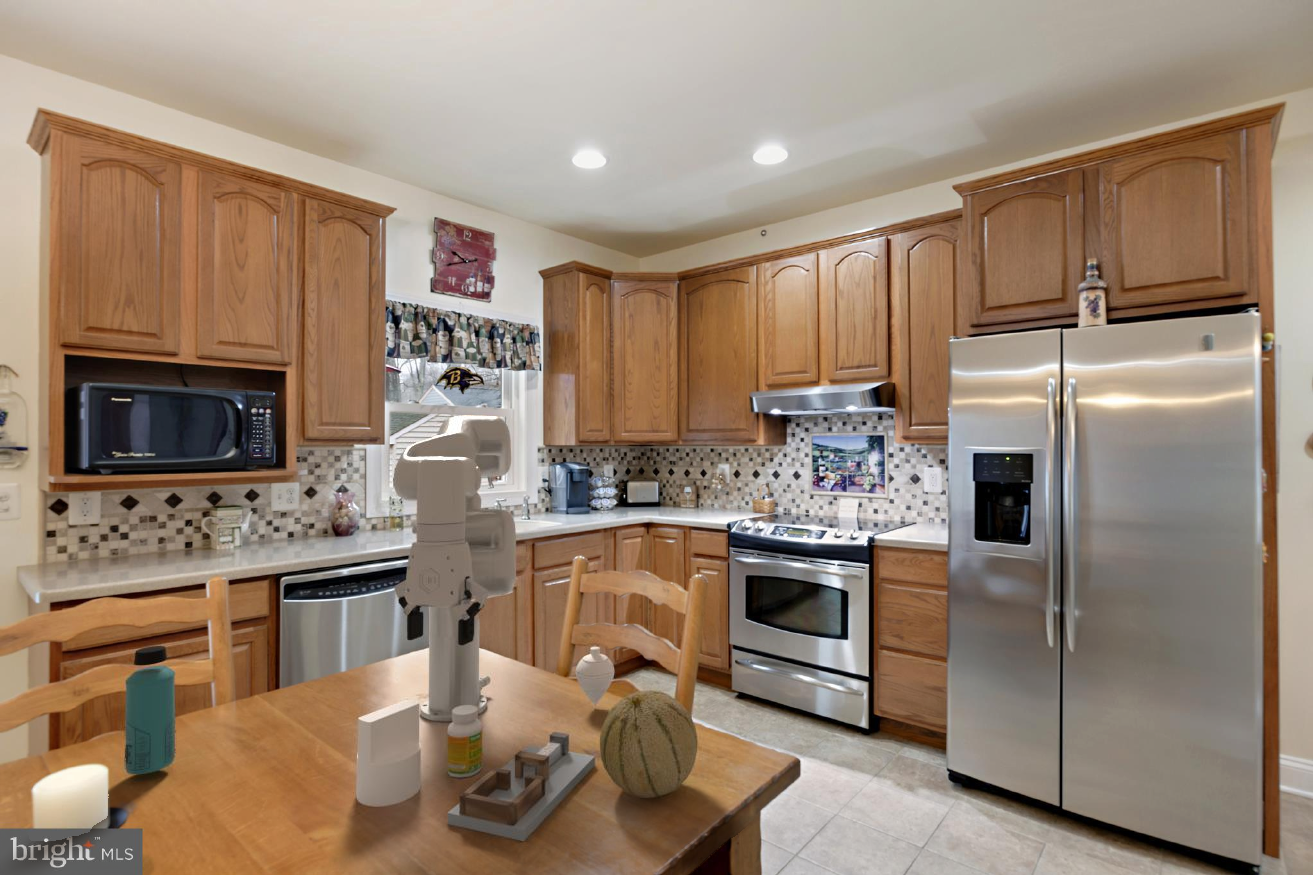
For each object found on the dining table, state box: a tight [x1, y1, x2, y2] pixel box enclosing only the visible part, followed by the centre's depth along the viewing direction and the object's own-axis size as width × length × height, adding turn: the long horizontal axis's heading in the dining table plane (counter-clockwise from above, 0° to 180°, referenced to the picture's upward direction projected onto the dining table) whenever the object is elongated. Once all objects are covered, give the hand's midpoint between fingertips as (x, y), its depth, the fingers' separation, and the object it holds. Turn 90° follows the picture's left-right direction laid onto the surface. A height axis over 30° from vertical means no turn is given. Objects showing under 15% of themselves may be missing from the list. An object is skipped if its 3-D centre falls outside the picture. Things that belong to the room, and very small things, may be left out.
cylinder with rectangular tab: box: [355, 699, 422, 808], centre depth 99 cm, size 9×9×12 cm
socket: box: [458, 767, 545, 826], centre depth 92 cm, size 8×8×2 cm
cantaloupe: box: [599, 689, 699, 799], centre depth 99 cm, size 15×15×15 cm
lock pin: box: [523, 731, 570, 778], centre depth 104 cm, size 10×3×3 cm, turn 160°
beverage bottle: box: [123, 645, 177, 775], centre depth 104 cm, size 6×7×20 cm
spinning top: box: [575, 646, 615, 709], centre depth 130 cm, size 8×8×12 cm
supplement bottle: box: [446, 705, 483, 779], centre depth 105 cm, size 5×5×10 cm
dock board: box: [446, 744, 596, 842], centre depth 98 cm, size 22×12×5 cm, turn 160°
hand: (440, 640), depth 105 cm, fingers open, 9 cm apart
